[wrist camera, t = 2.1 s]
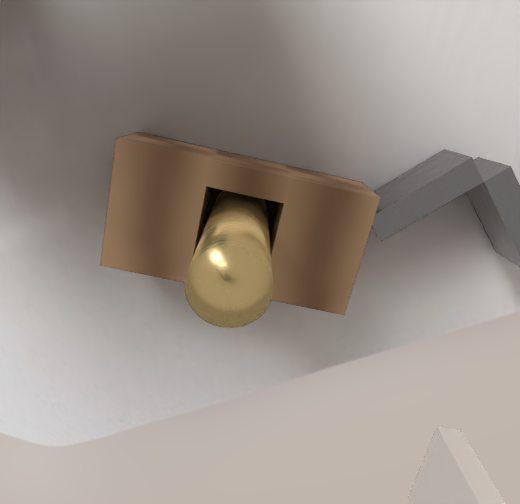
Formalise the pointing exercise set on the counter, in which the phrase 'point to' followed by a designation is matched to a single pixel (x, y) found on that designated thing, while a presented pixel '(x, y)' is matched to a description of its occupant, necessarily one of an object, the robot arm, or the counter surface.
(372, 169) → the counter surface
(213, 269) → the axle
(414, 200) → the v block
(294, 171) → the wooden block with hole
